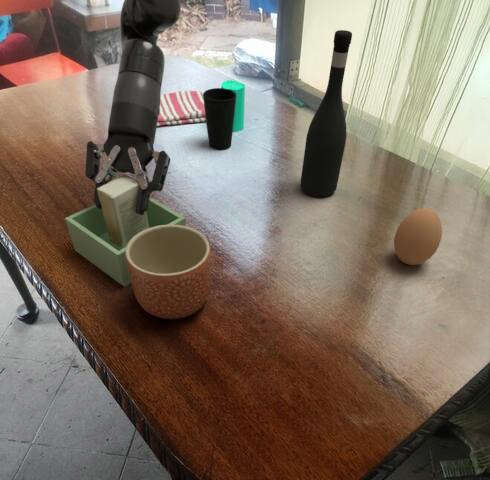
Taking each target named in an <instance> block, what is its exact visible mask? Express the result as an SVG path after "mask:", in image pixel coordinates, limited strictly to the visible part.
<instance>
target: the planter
mask: <svg viewBox="0 0 490 480" xmlns="http://www.w3.org/2000/svg"><path fill="white" fill-rule="evenodd" d="M125 256H126V263H127V267H128V271H129V275H130V278H131V282H132V283H131V285H132V289H133V293H134V296H135V299H136V300H137V302H138V304H139V305H140V307H141V308H142V309H143V310H144V311H145V312H147V313H148V314H150V315H151V316H154V317H156V318H159V319H164V320H177V319H178V320H179V319H183V318H186V317H189V316H191V315H193V314H195V313H197V312H198V311H199V310H200V309H201V308H202V307H203V306H204V305H205V303H206V301H207V299H208V297H209V294H210V289H211V268H212V267H211V266H212V264H211V262H212V252H211V246H210V242H209V240H208V239H207V237H206V236H205V235H204V234H203V233H202V232H200V231H199V230H197V229H195V228H193V227H189V226H187V225H186V226H182V225H159V226H155V227H151V228H148V229H145V230H143V231H141V232H139V233H138V234H136V235H135V236H134V237H133V238H132V239H131V240H130V241H129V243H128V244H127V247H126V251H125Z"/></svg>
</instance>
